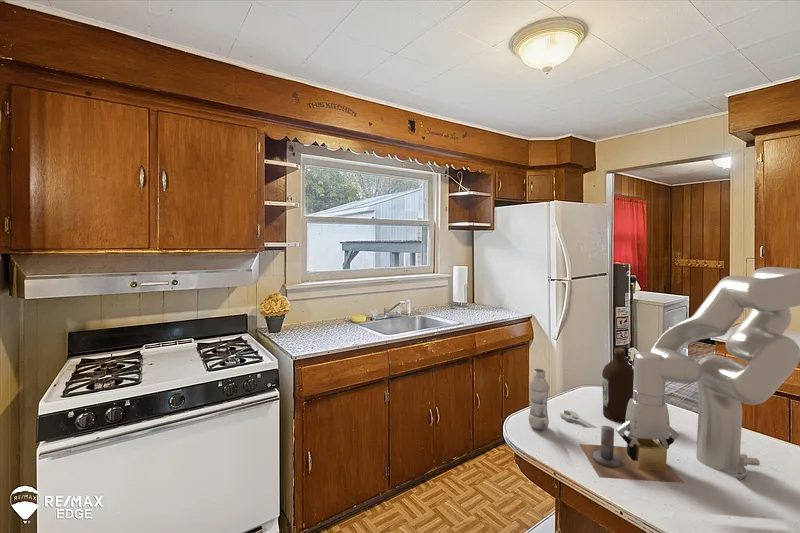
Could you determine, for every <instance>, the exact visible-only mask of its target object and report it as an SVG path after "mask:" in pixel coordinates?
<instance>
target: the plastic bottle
mask: <svg viewBox="0 0 800 533" xmlns="http://www.w3.org/2000/svg"><path fill="white" fill-rule="evenodd" d="M532 375H533V378H532V379H531V380H530V381H529V384H528V387H529V396H530V409H529V415H528V424H529V426H530V427H531V428H532V429H535V430H539V431H544V430H547V428H548V427H549V422H550V420H549V415H548V414H549V413H548V397H549V390H550V386H549V383H548V381H547V380H546V371H545V370H544V369H540V368H536V369H535V368H534V369H533V374H532Z"/></svg>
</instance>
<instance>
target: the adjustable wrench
mask: <svg viewBox="0 0 800 533" xmlns="http://www.w3.org/2000/svg"><path fill="white" fill-rule="evenodd" d="M559 416H560V418H561V419H562V420H564V421H565V422H566V423H572V424H576V425H577V424H578V425H579V426H581V427H583V428H585V429H586V428H589V429H599V427H598V426H596V425H594V424H592V423H590V422H588V421H586V420H585V419H583V418H582V417H580V416H579V414H578V413H577V412H576V411H572V410H567V409H564V410H563V412H560V415H559Z"/></svg>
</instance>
